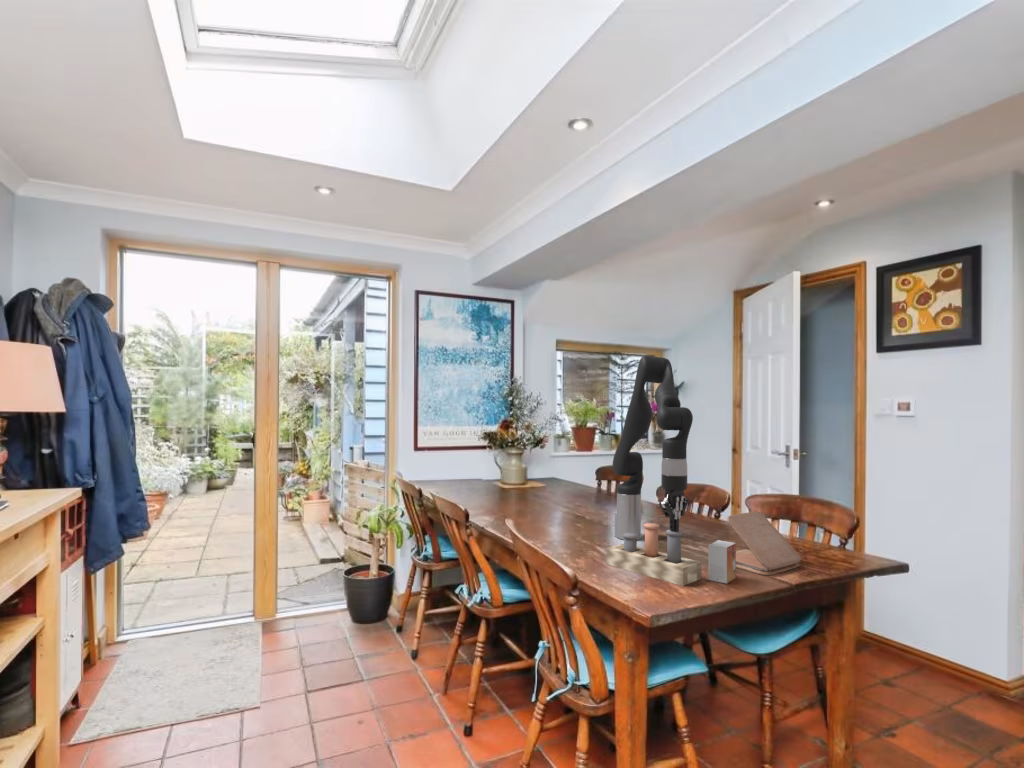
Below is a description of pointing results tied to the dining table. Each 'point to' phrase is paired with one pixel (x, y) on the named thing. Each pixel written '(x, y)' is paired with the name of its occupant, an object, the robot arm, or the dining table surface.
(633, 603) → the dining table surface
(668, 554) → the plug right
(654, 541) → the plug mid
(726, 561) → the small box
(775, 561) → the case
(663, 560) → the socket block
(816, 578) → the dining table surface
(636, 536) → the plug left
